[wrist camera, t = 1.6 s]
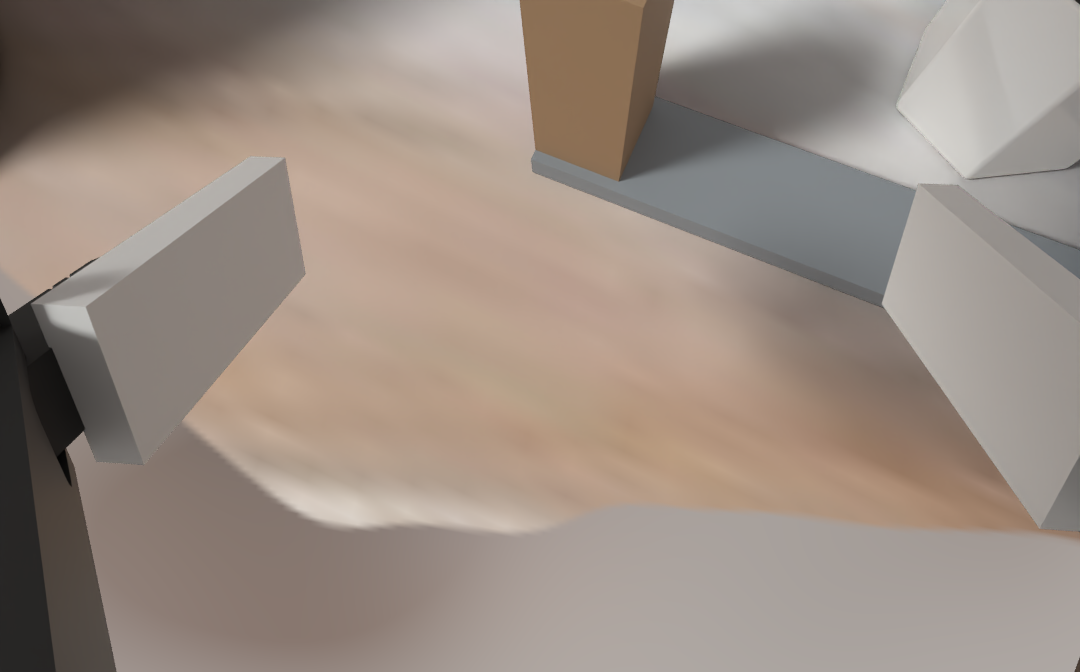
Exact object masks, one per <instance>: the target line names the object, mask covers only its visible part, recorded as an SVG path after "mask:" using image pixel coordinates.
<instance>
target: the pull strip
mask: <svg viewBox="0 0 1080 672" xmlns="http://www.w3.org/2000/svg"><path fill="white" fill-rule="evenodd" d="M673 4H674V0H520V8H521V17H522V27H523V36H524V45H525V55H526V64H527V73H528V83H529V92H530V102H531V111H532V120H533V130H534V139H535V149H536V150H535V152H534V154H533V156H532V159H531V163H532V171H533V172H534V173H537V174H539V175H542V176H544V177H547V178H550V179H552V180H555V181H557V182H560V183H562V184H565V185H568V186H570V187H573V188H575V189H578V190H581V191H583V192H586V193H588V194H591V195H593V196H596V197H599V198H601V199H604V200H606V201H609V202H612V203H614V204H617V205H619V206H622V207H624V208H627V209H630V210H632V211H635V212H637V213H640V214H642V215H645V216H648V217H650V218H653V219H655V220H658V221H661V222H663V223H666V224H668V225H671V226H673V227H676V228H679V229H681V230H684V231H686V232H689V233H692V234H694V235H697V236H699V237H702V238H704V239H707V240H710V241H712V242H715V243H717V244H720V245H723V246H725V247H728V248H730V249H733V250H735V251H738V252H741V253H743V254H746V255H748V256H751V257H753V258H756V259H759V260H761V261H764V262H766V263H769V264H772V265H774V266H777V267H779V268H782V269H784V270H787V271H790V272H792V273H795V274H797V275H800V276H803V277H805V278H808V279H810V280H813V281H815V282H818V283H821V284H823V285H826V286H828V287H831V288H833V289H836V290H839V291H841V292H844V293H846V294H849V295H852V296H854V297H857V298H859V299H862V300H864V301H867V302H870V303H872V304H875V305H877V306H880V307H883V305H882V301H883V298H884V294H885V291H886V288H887V285H888V281H889V278H890V275H891V272H892V268H893V265H894V262H895V258H896V255H897V252H898V249H899V245H900V242H901V239H902V236H903V232H904V229H905V226H906V223H907V219H908V216H909V213H910V210H911V206H912V203H913V200H914V197H915V193H916V191H915V190H913V189H910V188H907V187H904V186H901V185H899V184H896V183H893V182H890V181H888V180H885V179H882V178H879V177H877V176H874V175H871V174H868V173H866V172H863V171H860V170H857V169H854V168H852V167H849V166H846V165H843V164H841V163H838V162H835V161H832V160H830V159H827V158H824V157H821V156H818V155H816V154H813V153H810V152H807V151H805V150H802V149H799V148H796V147H794V146H791V145H788V144H785V143H783V142H780V141H777V140H774V139H771V138H769V137H766V136H763V135H760V134H758V133H755V132H752V131H749V130H747V129H744V128H741V127H738V126H736V125H733V124H730V123H727V122H724V121H722V120H719V119H716V118H713V117H711V116H708V115H705V114H702V113H700V112H697V111H694V110H691V109H688V108H686V107H683V106H680V105H677V104H675V103H672V102H669V101H666V100H664V99H661V98H658V97H655V93H656V88H657V83H658V78H659V73H660V68H661V63H662V58H663V53H664V48H665V43H666V38H667V33H668V28H669V23H670V18H671V13H672V9H673ZM1010 226H1011V227H1013V228H1014V229H1015V230H1016V231H1018V232H1019V233H1020V234H1022V235H1023V236H1024V237H1026V238H1027V239H1028V240H1029V241H1031V242H1032V243H1033V244H1035V245H1036V246H1037V247H1038V248H1040V249H1041V250H1042V251H1044V252H1045V253H1046V254H1048V255H1049V256H1050V257H1051V258H1053V259H1054V260H1055V261H1057V262H1058V263H1059V264H1060V265H1062V266H1063V267H1064V268H1066V269H1067V270H1068V271H1070V272H1071V273H1072V274H1073V275H1075V276H1076V277H1077V278H1079V279H1080V250H1079V249H1076V248H1073V247H1070V246H1067V245H1065V244H1062V243H1059V242H1056V241H1054V240H1051V239H1048V238H1045V237H1043V236H1040V235H1037V234H1034V233H1031V232H1029V231H1026V230H1023V229H1020V228H1018V227H1015V226H1012V225H1010ZM883 308H884V307H883Z"/></svg>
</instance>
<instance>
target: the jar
mask: <svg viewBox="0 0 1080 672" xmlns="http://www.w3.org/2000/svg"><path fill="white" fill-rule="evenodd" d="M896 107H897V110H898V111H899V112H900V113H901V114H902V115H903V116H904V117H905V118H906V119H907V120H908V121H909V122H910V123H911V124H912V125H913V126H914V127H915V128H916V129H917V130H918V131H919V132H920V133H921V135H922V136H923V137H924V138H925V139H926V140H927V141H928V142H929V143H930V144H931V145H932V146H933V147H934V148H935V149H936V150H937V151H938V152H939V153H940V154H941V155H942V156H943V157H944V158H945V159H946V161H947V162H948V163H949V164H950V165H951V166H952V167H953V168H954V169H955V170H956V171H957V172H958V173H959V174H960V175H961V176H962V177H963V178H965V179H974V178H984V177H993V176H1003V175H1012V174H1022V173H1031V172H1041V171H1051V170H1060V169H1066V168H1068V167H1070V166H1071V165H1073V164H1074V163H1076V162H1077V161H1079V160H1080V0H946V2H945V3H944V4H943V6H942V7H941V8H940V10H939V11H938V12H937V14H936V15H935V17H934V18H933V19H932V21H931V22H930V23H929V25H928V26H927V27H926V29H925V31H924V34H923V36H922V39H921V42H920V44H919V47H918V49H917V52H916V54H915V57H914V60H913V62H912V65H911V67H910V70H909V73H908V75H907V78H906V80H905V83H904V86H903V88H902V91H901V93H900V96H899V98H898V101H897V103H896Z"/></svg>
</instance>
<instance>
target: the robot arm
mask: <svg viewBox="0 0 1080 672" xmlns="http://www.w3.org/2000/svg"><path fill="white" fill-rule="evenodd" d="M305 274H306V273H305V267H304V262H303V256H302V250H301V245H300V239H299V234H298V228H297V222H296V217H295V211H294V206H293V200H292V194H291V189H290V183H289V177H288V172H287V166H286V161H285V158H278V157H254V156H250V157H249V158H247V159H246V160H244V161H243V162H241V163H240V164H238V165H237V166H235V167H234V168H232V169H231V170H229V171H228V172H226V173H225V174H223V175H222V176H220V177H219V178H217V179H216V180H214V181H213V182H211V183H210V184H208V185H207V186H205V187H204V188H202V189H201V190H199V191H198V192H196V193H195V194H193V195H192V196H190V197H189V198H187V199H186V200H185V201H183V202H182V203H180V204H179V205H177V206H176V207H174V208H173V209H171V210H170V211H168V212H167V213H165V214H164V215H162V216H161V217H159V218H158V219H156V220H155V221H153V222H152V223H150V224H149V225H147V226H146V227H144V228H143V229H141V230H140V231H138V232H137V233H135V234H134V235H132V236H131V237H129V238H128V239H126V240H125V241H123V242H122V243H120V244H119V245H117V246H116V247H114V248H113V249H112V250H110V251H109V252H107V253H106V254H104V255H103V256H101V257H99V258H97V259H94V260H91V261H90V262H88V263H87V264H85V265H84V266H82V267H81V268H79V269H78V270H76V271H75V272H73V273H72V274H70V278H64V279H63V280H61V281H60V282H58V283H57V284H55V285H54V286H53V289H48V290H46V291H45V292H43V293H42V294H40V295H39V296H37V297H36V298H34V299H33V300H31V301H30V302H28V303H27V304H25V305H24V306H22V307H21V308H19V309H18V310H16V311H15V312H13V313H12V314H10V315H9V316H8V315H7V313H6V310H5V308H4V306H3V304H2V302H1V299H0V672H116V667H115V663H114V658H113V652H112V647H111V643H110V638H109V633H108V628H107V624H106V618H105V614H104V609H103V604H102V599H101V594H100V589H99V584H98V580H97V575H96V570H95V565H94V560H93V555H92V550H91V545H90V541H89V536H88V531H87V526H86V521H85V516H84V511H83V507H82V502H81V497H80V492H79V487H78V483H77V477H76V473H75V468H74V465H73V463H72V461H71V458H70V456H69V454H68V452H67V449H66V447H67V446H68V445H69V444H71V443H72V441H73V440H75V439H76V438H77V437H78V436H79V435H80V434H81V433H82V432H83V431H84V433H85V436H86V438H87V440H88V443H89V445H90V447H91V450H92V452H93V455H94V457H95V460H96V461H97V462H109V463H123V464H137V465H145V463H146V462H147V461H148V460H149V459H150V457H151V456H152V455H153V454H154V453H155V451H156V450H157V449H158V448H159V447H160V446H161V444H162V443H163V442H164V441H165V440H166V439H167V437H168V436H169V435H170V434H171V433H172V432H173V430H174V429H175V428H176V427H177V426H178V424H179V423H180V422H181V421H182V420H183V418H184V417H185V416H186V415H187V414H188V413H189V411H190V410H191V409H192V408H193V407H194V405H195V404H196V403H197V402H198V401H199V400H200V398H201V397H202V396H203V395H204V394H205V392H206V391H207V390H208V389H209V388H210V387H211V385H212V384H213V383H214V382H215V381H216V379H217V378H218V377H219V376H220V375H221V374H222V372H223V371H224V370H225V369H226V368H227V366H228V365H229V364H230V363H231V362H232V361H233V359H234V358H235V357H236V356H237V355H238V353H239V352H240V351H241V350H242V349H243V348H244V346H245V345H246V344H247V343H248V342H249V340H250V339H251V338H252V337H253V336H254V335H255V333H256V332H257V331H258V330H259V329H260V327H261V326H262V325H263V324H264V323H265V322H266V320H267V319H268V318H269V317H270V316H271V314H272V313H273V312H274V311H275V310H276V309H277V307H278V306H279V305H280V304H281V303H282V301H283V300H284V299H285V298H286V297H287V296H288V294H289V293H290V292H291V291H292V290H293V288H294V287H295V286H296V285H297V284H298V283H299V281H300V280H301V279H302V278H303V277H304V275H305ZM882 305H883V307H884V308H885V309H886V311H887V312H888V314H889V315H890V317H891V318H892V319H893V321H894V322H895V324H896V325H897V327H898V328H899V329H900V331H901V332H902V334H903V335H904V336H905V338H906V339H907V341H908V342H909V344H910V345H911V346H912V348H913V349H914V351H915V352H916V354H917V355H918V356H919V358H920V359H921V361H922V362H923V364H924V365H925V366H926V368H927V369H928V371H929V372H930V373H931V375H932V376H933V378H934V379H935V381H936V382H937V383H938V385H939V386H940V388H941V389H942V391H943V392H944V393H945V395H946V396H947V398H948V399H949V401H950V402H951V403H952V405H953V406H954V408H955V409H956V410H957V412H958V413H959V415H960V416H961V418H962V419H963V420H964V422H965V423H966V425H967V426H968V428H969V429H970V430H971V432H972V433H973V435H974V436H975V438H976V439H977V440H978V442H979V443H980V445H981V446H982V447H983V449H984V450H985V452H986V453H987V455H988V456H989V457H990V459H991V460H992V462H993V463H994V465H995V466H996V467H997V469H998V470H999V472H1000V473H1001V475H1002V476H1003V477H1004V479H1005V480H1006V482H1007V483H1008V484H1009V486H1010V487H1011V489H1012V490H1013V492H1014V493H1015V494H1016V496H1017V497H1018V499H1019V500H1020V502H1021V503H1022V504H1023V506H1024V507H1025V509H1026V510H1027V512H1028V513H1029V514H1030V516H1031V517H1032V519H1033V520H1034V521H1035V523H1036V524H1037V526H1038V527H1039V529H1051V530H1065V531H1079V532H1080V279H1079V278H1077V277H1076V276H1075V275H1073V274H1072V273H1071V272H1070V271H1068V270H1067V269H1066V268H1064V267H1063V266H1062V265H1060V264H1059V263H1058V262H1057V261H1055V260H1054V259H1053V258H1051V257H1050V256H1049V255H1048V254H1046V253H1045V252H1044V251H1042V250H1041V249H1040V248H1038V247H1037V246H1036V245H1035V244H1033V243H1032V242H1031V241H1029V240H1028V239H1027V238H1026V237H1024V236H1023V235H1022V234H1020V233H1019V232H1018V231H1016V230H1015V229H1014V228H1013V227H1011V226H1010V225H1009V224H1007V223H1006V222H1005V221H1004V220H1002V219H1001V218H1000V217H998V216H997V215H996V214H994V213H993V212H992V211H991V210H989V209H988V208H987V207H985V206H984V205H983V204H982V203H980V202H979V201H978V200H976V199H975V198H974V197H972V196H971V195H970V194H969V193H967V192H966V191H965V190H963V189H962V188H961V187H959V186H958V185H940V184H918V187H917V190H916V193H915V197H914V200H913V203H912V206H911V210H910V213H909V216H908V219H907V223H906V226H905V229H904V232H903V236H902V239H901V242H900V245H899V249H898V252H897V255H896V258H895V262H894V265H893V268H892V272H891V275H890V278H889V281H888V285H887V288H886V291H885V294H884V298H883V301H882ZM1075 672H1080V658H1079V661H1078V664H1077V666H1076V669H1075Z"/></svg>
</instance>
